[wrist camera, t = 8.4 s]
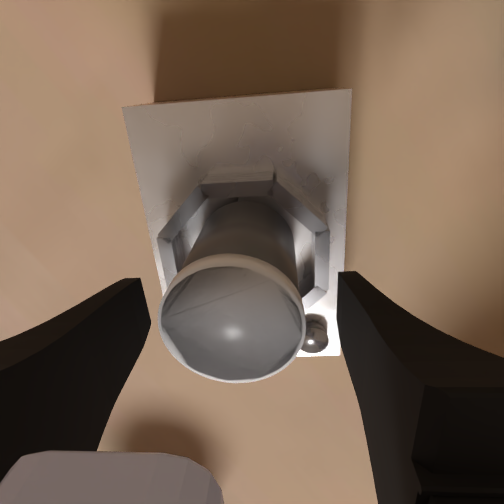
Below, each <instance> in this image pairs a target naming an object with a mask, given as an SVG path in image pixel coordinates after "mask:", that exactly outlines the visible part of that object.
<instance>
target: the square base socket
mask: <svg viewBox="0 0 504 504" xmlns="http://www.w3.org/2000/svg"><path fill="white" fill-rule="evenodd" d="M351 104H352V89H349V88H326V89H314V90H302V91H289V92H277V93H265V94H252V95H240V96H228V97H215V98H203V99H191V100H178V101H166V102H154V103H147V104H140V105H133V106H127V107H122V111H123V116H124V120H125V125H126V130H127V134H128V139H129V143H130V148H131V152H132V157H133V161H134V166H135V170H136V175H137V179H138V184H139V189H140V193H141V198H142V202H143V207H144V211H145V216H146V220H147V225H148V229H149V234H150V238H151V243H152V248H153V252H154V257H155V261H156V266H157V270H158V275H159V279H160V284H161V288H162V293H163V296H164V294H165V292H166V290H167V288H168V286H169V285H170V283H171V281H172V280H173V278H174V277H175V276H176V275H177V274H178V273H179V272H180V270H181V268H182V266H183V264H184V262H185V261H186V259H187V257H188V255H189V253H190V251H191V249H192V247H193V245H194V243H195V241H196V239H197V237H198V236H199V234H200V232H201V230H202V228H203V226H204V224H205V222H206V221H207V219H208V218H209V217H210V216H211V215H212V214H213V213H214V212H215V211H216V210H218V209H219V208H221V207H223V206H225V205H227V204H230V203H234V202H239V201H252V202H257V203H261V204H264V205H266V206H268V207H270V208H272V209H274V210H275V211H276V212H278V213H279V214H280V215H281V216H282V217H283V218H284V219H285V221H286V222H287V223H288V225H289V227H290V229H291V231H292V234H293V239H294V247H295V256H296V266H297V276H298V285H299V294H300V297H301V299H302V302H303V307H304V312H305V321H306V333H305V339H304V342H303V345H302V348H301V350H300V352H299V353H298V355H297V356H340V339H339V333H338V327H337V321H336V313H337V286H338V272H344V257H345V235H346V213H347V191H348V169H349V147H350V126H351Z"/></svg>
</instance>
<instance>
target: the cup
mask: <svg viewBox="0 0 504 504" xmlns="http://www.w3.org/2000/svg"><path fill="white" fill-rule="evenodd" d="M158 327H159V331H160V335H161V337H162V339H163V342H164V344H165V345H166V347H167V349H168V350H169V351H170V353H171V354H172V355H173V356H174V357H175V358H176V359H177V360H178V361H179V362H180V363H181V364H183V365H184V366H185V367H187V368H188V369H190V370H191V371H193V372H195V373H197V374H199V375H201V376H204V377H206V378H209V379H213V380H216V381H221V382H228V383H247V382H254V381H258V380H262V379H265V378H268V377H270V376H273V375H275V374H277V373H278V372H280V371H281V370H283V369H284V368H286V367H287V366H288V365H289V364H290V363H291V362H292V361H293V360H294V359H295V358H296V356H297V355H298V353H299V352H300V350H301V348H302V345H303V342H304V339H305V333H306V321H305V312H304V307H303V302H302V299H301V297H300V294H299V285H298V276H297V266H296V256H295V247H294V239H293V234H292V231H291V229H290V227H289V225H288V223H287V222H286V221H285V219H284V218H283V217H282V216H281V215H280V214H279V213H278V212H276V211H275V210H274V209H272V208H270V207H268V206H266V205H264V204H261V203H257V202H252V201H239V202H234V203H230V204H227V205H225V206H223V207H221V208H219V209H218V210H216V211H215V212H214V213H213V214H212V215H211V216H210V217H209V218H208V219H207V221H206V222H205V224H204V226H203V228H202V230H201V232H200V234H199V236H198V237H197V239H196V241H195V243H194V245H193V247H192V249H191V251H190V253H189V255H188V257H187V259H186V261H185V262H184V264H183V266H182V268H181V270H180V272H179V273H178V274H177V275H176V276H175V277H174V278H173V280H172V281H171V283H170V285H169V286H168V288H167V290H166V292H165V294H164V296H163V298H162V300H161V303H160V306H159V310H158Z"/></svg>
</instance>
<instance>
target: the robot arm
mask: <svg viewBox="0 0 504 504" xmlns="http://www.w3.org/2000/svg"><path fill="white" fill-rule="evenodd" d="M336 321H337V327H338V333H339V339H340V344H341V348H342V351H343V354H344V357H345V361H346V364H347V367H348V370H349V373H350V377H351V380H352V383H353V386H354V389H355V392H356V396H357V399H358V403H359V406H360V410H361V415H362V420H363V425H364V430H365V435H366V440H367V445H368V450H369V455H370V461H371V466H372V471H373V477H374V483H375V488H376V494H377V500H378V504H504V358H502V357H500V356H497V355H494V354H492V353H489V352H486V351H484V350H481V349H479V348H476V347H474V346H472V345H469V344H467V343H465V342H463V341H460V340H458V339H456V338H454V337H452V336H450V335H447V334H445V333H443V332H442V331H440V330H438V329H436V328H434V327H432V326H430V325H429V324H427V323H425V322H423V321H422V320H420V319H418V318H417V317H415V316H413V315H412V314H410V313H409V312H407V311H406V310H404V309H403V308H402V307H400V306H399V305H397V304H396V303H394V302H393V301H392V300H390V299H389V298H388V297H386V296H385V295H384V294H383V293H381V292H380V291H379V290H378V289H376V288H375V287H374V286H373V285H372V284H371V283H369V282H368V281H367V280H366V279H365V278H364V277H362V276H361V275H360V274H359V273H358V272H356V271H346V272H338V286H337V313H336ZM150 326H151V319H150V315H149V311H148V307H147V303H146V299H145V295H144V291H143V287H142V283H141V279H140V278H124V279H122V280H120V281H118V282H116V283H114V284H112V285H110V286H109V287H107V288H105V289H103V290H102V291H100V292H98V293H97V294H95V295H93V296H91V297H90V298H88V299H86V300H85V301H83V302H81V303H80V304H78V305H76V306H74V307H72V308H71V309H69V310H67V311H65V312H63V313H61V314H60V315H58V316H56V317H54V318H52V319H50V320H48V321H46V322H44V323H42V324H40V325H38V326H36V327H34V328H32V329H29V330H27V331H25V332H23V333H21V334H18V335H16V336H13V337H11V338H8V339H6V340H3V341H1V342H0V504H224V501H223V495H222V490H221V488H220V487H219V485H218V483H217V482H216V480H215V479H214V477H213V475H212V474H211V472H210V471H209V470H208V469H207V468H205V467H203V466H202V465H200V464H198V463H196V462H195V461H193V460H191V459H190V458H188V457H183V456H178V455H173V454H167V453H158V452H103V451H97V449H98V446H99V443H100V440H101V437H102V435H103V432H104V429H105V427H106V424H107V422H108V419H109V416H110V414H111V411H112V409H113V407H114V404H115V402H116V400H117V398H118V396H119V394H120V392H121V390H122V388H123V386H124V384H125V382H126V380H127V378H128V376H129V375H130V373H131V371H132V369H133V367H134V365H135V363H136V361H137V359H138V357H139V355H140V353H141V351H142V349H143V347H144V344H145V341H146V338H147V335H148V332H149V329H150Z"/></svg>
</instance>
